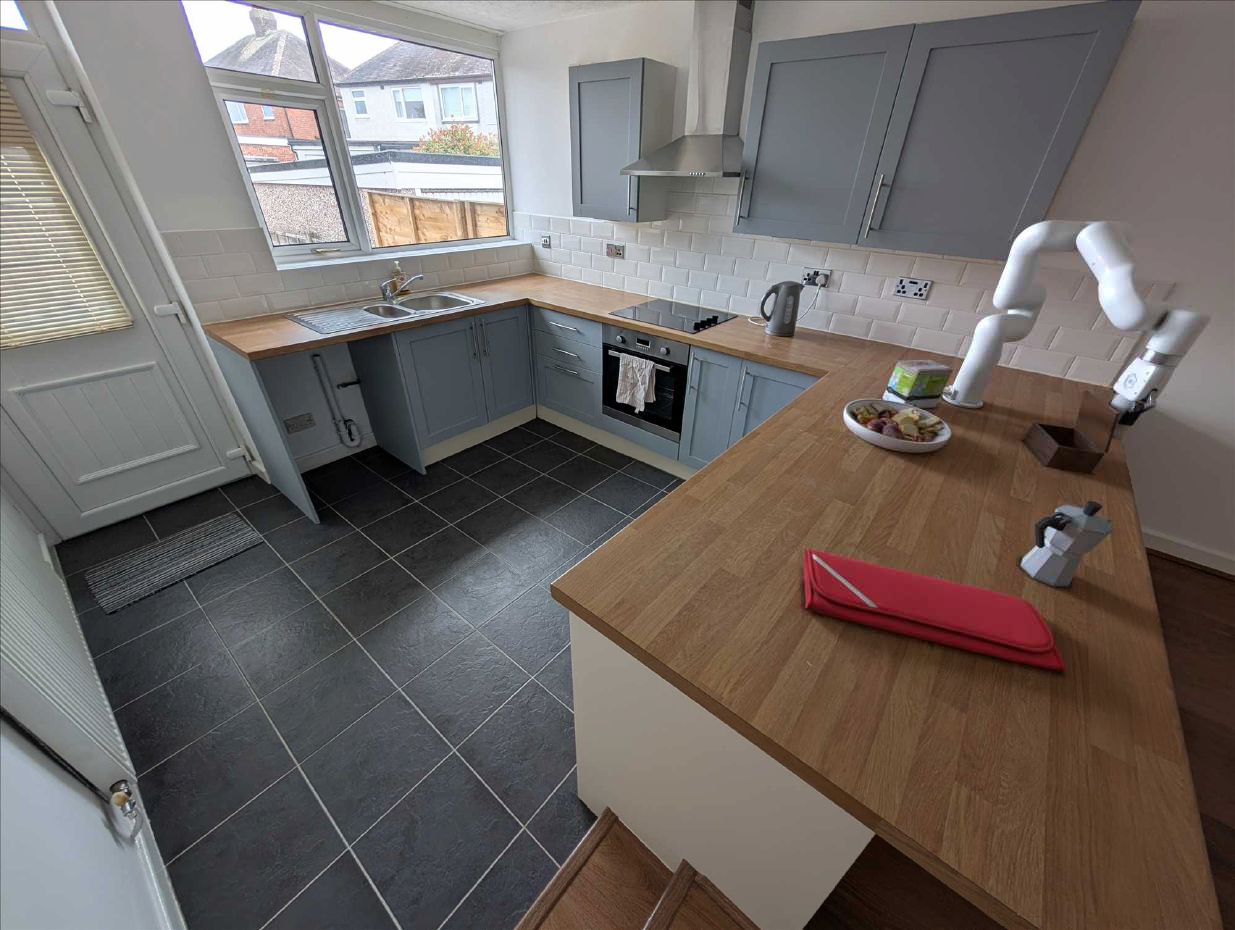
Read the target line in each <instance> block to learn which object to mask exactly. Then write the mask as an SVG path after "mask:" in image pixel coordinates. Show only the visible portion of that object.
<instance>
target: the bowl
mask: <svg viewBox="0 0 1235 930" xmlns="http://www.w3.org/2000/svg"><path fill="white" fill-rule="evenodd" d="M843 420H844V424H845V425H846V427H847V428H848V429H849V430H850V431H851V432H852V433H853V434H854V435H856V436H857V437H859V438H860V439H862V440H864V441H866V442H867V443H870V444H872V445H875V446H878V447H880V448H884V449H887V450H890V451H896V452H901V453H909V454H922V453H924V454H925V453H930V452H934V451H936V450H939V449H940V448H943V447H944V446H945V445H946V444H947V443H948V442H949V440H950V438H951V436H952V431H951V428H950V426H949V425H948V424H947V423H946V422H945V421H944V420H942V419H941V418H939V417H938V416H936V415H934V414H932V413H931V412H929V411H927V410H924V409H923V408H917V407H914V406H911V405H907V404H904V403H900V402H895V401H890V400H884V399H883V398H860V399H855V400H852V401H850V402H848V403H847V404H846V405H845V407H844V409H843Z"/></svg>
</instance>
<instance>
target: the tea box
mask: <svg viewBox="0 0 1235 930" xmlns="http://www.w3.org/2000/svg"><path fill="white" fill-rule="evenodd" d="M953 371H954V369H953V368H951V367H949V366H947V365H945V364H942V363H940V362H938V361H936V360H933V359H912V360H911V359H909V360H898V361H897V362H896V365H895V367H894V369H893V372H892V374H891V377H890V379H889V380H888V384H887V385H886V389H885V391H884V393H883V396H882V399H883V400H890V401H895V402H900V403H904V404H907V405H911V406H914V407H917V408H919V409H929V408H931V409H932V408H936V407H937V404H938V403H939V401H940V398H941V396H942V395H943V394H942V392H943V390H944V388H946V387H947V384H948V382H949V379H950V377H951V376H952V373H953Z"/></svg>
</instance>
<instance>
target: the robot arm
mask: <svg viewBox="0 0 1235 930" xmlns="http://www.w3.org/2000/svg"><path fill="white" fill-rule="evenodd" d="M1136 234H1137V231H1136V229H1135V227H1134V226H1133V224H1131V223H1129V222H1126V221H1119V220H1118V221H1117V220H1101V221H1090V220H1089V221H1087V220H1064V219H1051V220H1044V221H1040V222H1037V223H1034V224H1032V225H1030V226H1028V227H1027V228H1025V229H1024V230H1023V231H1021V232H1020V234H1018V235H1017V237H1016V238H1015V240H1014V241H1013V243H1012V246H1011V248H1010V251H1009V254H1008V257H1007V262H1006V264H1005V267H1004V269H1003V271H1002V273H1001V276H1000V279H999V282H998V284H997V286H996V289H995V291H994V295H993V298H992V305H993V306H994V307H995V308H996V309H998V310H1002V311H1007V313H996V314H991V315H987V316H986V317H983V318H982V319H981V320H980V321H979V322H978V324H977V325H976V328H975V329H974V334H973V338H972V341H971V344H970V347H969V348H968V351H967V353H966V355H965V358H964V361H963V362H962V364H961V367H960V370H959V371H958V373H957V375H956V377H955V380H954V381H953V383H952V384H949V385H948V386H945V388H944V390H943V392H942V394H941V395H942V399H943V400H945V401H946V402H947V403H949V404H952V405H954V406H957V407H962V408H964V409H965V408H967V409H979V408H982V407H983V405H984V402H983V401H982V399H981V398H982V396H983V394H984V392H985V390H986V388H987V386H988V384H989V382H990V380H991V378H992V376H993V374H994V372H995V370H996V368H997V366H998V364H999V362H1000V360H1001V357H1002V354H1003V347H1004V344H1005V343H1015V342H1019V341H1023V340H1024V339H1025V338H1027V337H1028V336H1029V335H1030V334H1031V332H1032V330H1033V329H1034V327H1035V325H1036V322H1037V320H1038V318H1039V315H1040V314H1041V312H1042V309H1043V306H1044V304H1045V302H1046V299H1047V294H1048V290H1047V286H1046V284H1045V283H1044V282H1043V281H1041V280H1039V279H1036V275H1037V273H1038V271H1039V268H1040V265H1041V254H1042V253H1044V252H1045V253H1047V252H1049V253H1050V252H1052V253H1055V252H1057V253H1058V252H1059V253H1080V254H1081V256H1082V258H1083V259H1084V261H1085V262H1086V264H1087V265H1088V267H1089V268H1090V270H1091V272H1092V274H1093V275H1094V277H1095V278H1096V280H1097V282H1098V290H1097V291H1098V301H1099V304H1100V306H1101V308H1102V310H1103V311H1104V313H1105V315H1106V316H1107V318H1108V319H1109V321H1110V322H1111V324H1112V325H1113V326H1115V327H1116V328H1117V329H1119V330H1121V331H1124V332H1140V331H1145V332H1147V331H1153V332H1154V334H1153V335H1152V337H1151V338H1150V340H1149V341H1148V343H1147V344H1146V346H1145V347H1144V348H1143V350H1142V351H1141V353H1140V354H1139V356H1137V357H1136V358H1135V359H1134V360H1133V361H1132V362H1131V363H1130V364H1129V365H1128V367H1127V368H1126V369H1125V370H1124V371H1123V372H1122V374H1121V375H1120V377H1119V378H1118V379H1117V381H1116V382H1115V383H1114V385H1113V387H1112V389H1113V395H1112V396H1110V397H1111V398H1110V399H1111V400H1110V401H1109V402H1108V403H1107V405H1110V403H1111V402H1112V400H1113V399H1114V397H1115V396H1116V395H1118V394H1121V395H1122V396H1123V397H1125V398H1126V399H1128V400H1129V401H1132V403H1131V406H1130V409H1129V411H1128V410H1126V412H1125V413H1124V414H1123V416H1122V417H1121V419H1120V420H1119V422H1118V423H1119V424H1121V425H1127V426H1130V427H1132V426H1133V425H1135V423H1136V422H1137V420H1138V419H1139V418H1140V416H1141V415H1143V414H1145V412H1148V411H1149V410H1152V409H1154V408H1156V407H1157V399H1158V398H1159V397H1160V395H1161V394H1162V393H1163V392H1164V389H1165V388H1166V387H1167V385H1168V383H1169V381H1170V380H1171V378H1172V376H1173V375H1174V372H1175V370H1176V369H1177V367H1178V366H1179V365H1180V364H1181V362H1182V361H1183V359H1184V358H1185V357H1186V355H1187V354H1188V353H1189V351H1190V350H1191V348H1192V347H1193V346H1194V344H1195V343H1196V342H1197V340H1198V339H1199V337H1200V336H1201V335H1202V333H1203V332H1204V330H1205V329H1206V328H1207V327H1208V325H1210V323H1211V321H1212V319H1213V316H1212V314H1211V313H1209V312H1207V311H1204V310H1201V309H1196V308H1190V307H1183V306H1180V305H1177V304H1175V303H1173V302H1169V301H1166V300H1144V298H1143V297H1142V296H1141V294H1140V293H1139V291H1138V289H1137V288H1136V285H1135V282H1134V275H1135V273H1136V271H1137V270H1139V268H1140V267H1141V265H1142V262H1141V261H1142V260H1141V259H1140V258H1139V256H1138V255H1137V253H1136V252H1135V251H1134V249H1133V248H1132V245H1133V244H1134V241H1135V240H1136ZM1141 399H1144V401H1140V400H1141ZM1137 403H1139V404H1141V405H1140V406H1138V407H1136V406H1137Z"/></svg>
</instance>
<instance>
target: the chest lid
mask: <svg viewBox="0 0 1235 930" xmlns="http://www.w3.org/2000/svg"><path fill="white" fill-rule="evenodd" d="M1119 414H1120V413H1119V412H1117V411H1116V410H1114V409H1113V408H1112V407H1110V406H1109V405H1108V403H1106V402H1105V401H1103V400H1102V399H1100V398H1099V397H1098V396H1096V395H1095V394H1093V393H1092V392H1091V391H1089V390H1088V389H1084V390H1083V394H1082V399H1081V402H1080V407H1079V410H1078V413H1077V417H1076V422H1075V425H1074V428H1076V429H1077V430H1078V431H1079V432H1080V433H1082V434H1083V435H1084V436H1085V437H1086V438H1087V439H1088V440H1090V441H1091V442H1092V443H1093V444H1094V445H1095V446H1097V447H1098V448H1099V449H1100V450H1101V451H1102V452H1103V453H1105V454H1107V453H1109V450H1110V446H1111V444H1112V440H1113V438H1112V437H1113V434H1114V430H1115V427H1116V424H1117V420H1118V417H1119Z"/></svg>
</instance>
